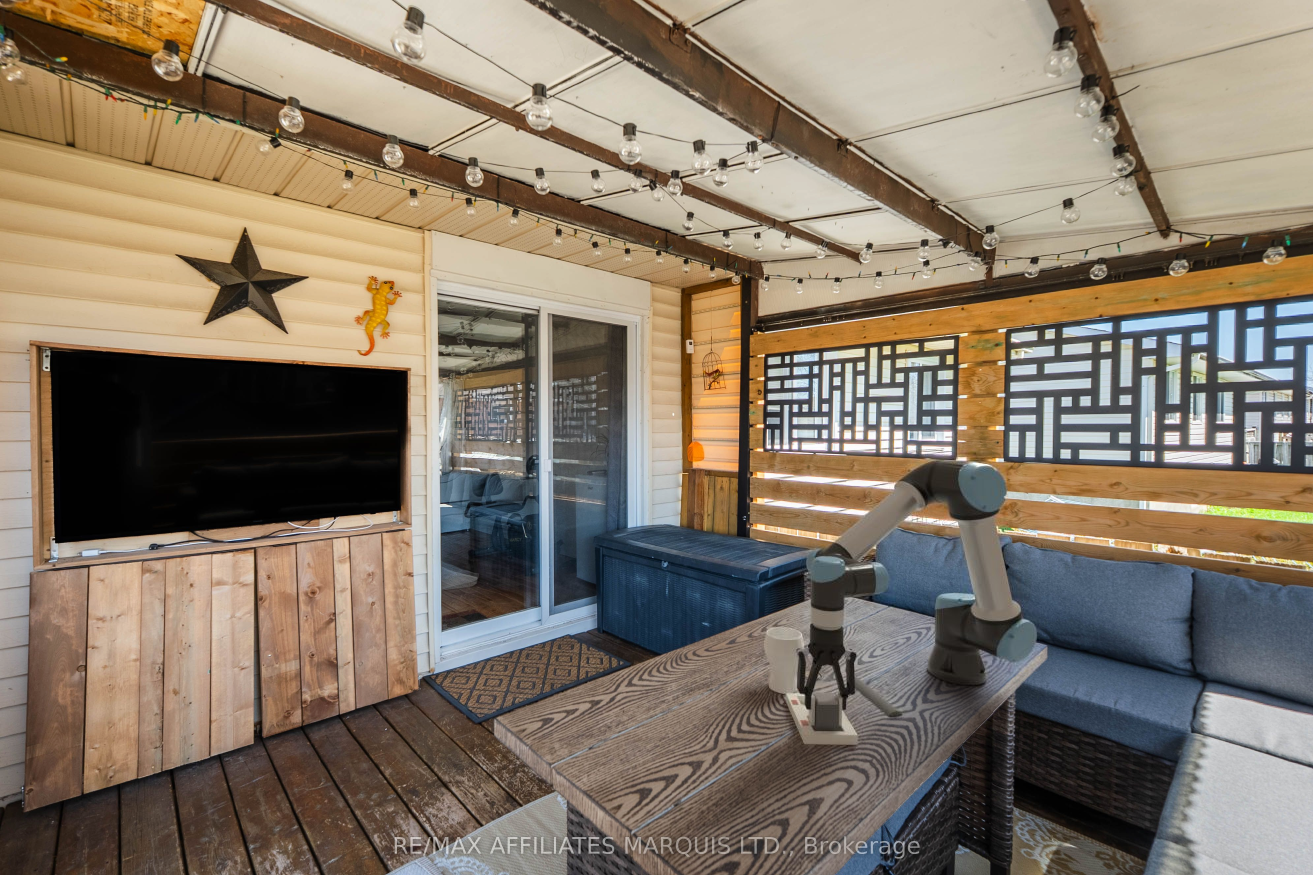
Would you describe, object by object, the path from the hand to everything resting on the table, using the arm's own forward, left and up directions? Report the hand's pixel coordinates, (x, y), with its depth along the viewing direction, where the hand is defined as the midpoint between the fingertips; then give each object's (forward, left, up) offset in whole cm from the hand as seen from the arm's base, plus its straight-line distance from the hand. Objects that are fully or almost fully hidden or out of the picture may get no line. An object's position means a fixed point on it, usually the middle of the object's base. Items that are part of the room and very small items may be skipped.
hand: (824, 722), depth 138 cm
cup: (+5, -23, -3) cm, 24 cm away
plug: (0, 0, -2) cm, 2 cm away
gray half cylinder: (-18, -18, -3) cm, 25 cm away
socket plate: (0, -5, -2) cm, 6 cm away
